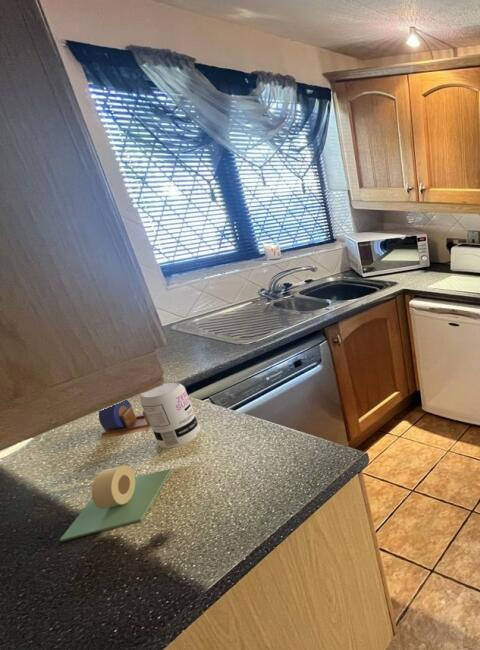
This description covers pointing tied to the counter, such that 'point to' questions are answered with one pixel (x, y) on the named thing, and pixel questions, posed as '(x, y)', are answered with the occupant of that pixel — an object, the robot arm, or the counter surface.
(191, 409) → the supplement can
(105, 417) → the vinyl tape
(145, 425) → the tape rack
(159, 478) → the mat
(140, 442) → the counter surface
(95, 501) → the masking tape
